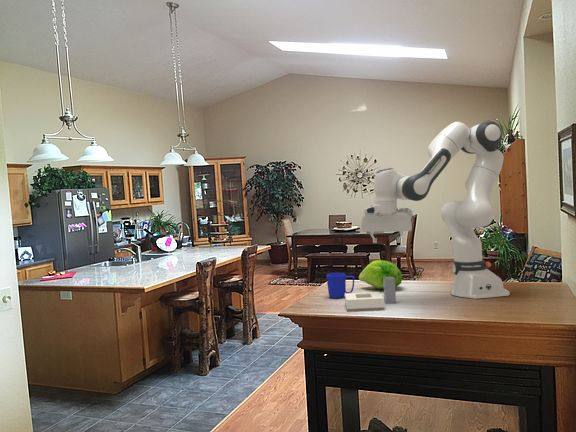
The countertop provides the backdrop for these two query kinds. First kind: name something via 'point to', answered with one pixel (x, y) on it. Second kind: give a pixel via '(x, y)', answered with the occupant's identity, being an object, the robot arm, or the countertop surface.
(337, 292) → the mug
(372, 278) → the lettuce
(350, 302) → the well block
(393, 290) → the grey brushed prism
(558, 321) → the countertop surface
